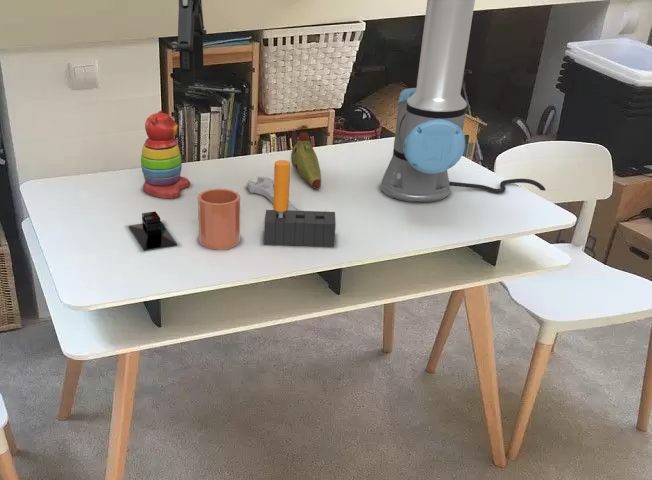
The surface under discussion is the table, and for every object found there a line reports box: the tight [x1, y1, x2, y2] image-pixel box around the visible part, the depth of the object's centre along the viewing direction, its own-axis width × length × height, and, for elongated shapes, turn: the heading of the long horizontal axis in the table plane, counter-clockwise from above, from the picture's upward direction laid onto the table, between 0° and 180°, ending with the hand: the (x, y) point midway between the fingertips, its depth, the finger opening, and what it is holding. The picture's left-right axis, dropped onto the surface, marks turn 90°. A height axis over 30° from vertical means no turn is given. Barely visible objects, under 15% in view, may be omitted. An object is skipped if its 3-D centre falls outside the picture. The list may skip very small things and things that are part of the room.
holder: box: [263, 209, 337, 248], centre depth 153 cm, size 14×6×5 cm, turn 84°
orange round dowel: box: [272, 159, 291, 218], centre depth 151 cm, size 3×3×16 cm
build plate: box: [128, 211, 178, 252], centre depth 156 cm, size 12×7×5 cm, turn 19°
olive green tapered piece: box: [290, 131, 322, 190], centre depth 181 cm, size 20×5×10 cm, turn 11°
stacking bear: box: [140, 109, 191, 200], centre depth 174 cm, size 11×10×18 cm
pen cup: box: [197, 188, 241, 250], centre depth 152 cm, size 8×8×10 cm
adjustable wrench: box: [247, 176, 301, 211], centre depth 171 cm, size 25×6×2 cm, turn 17°
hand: (192, 77), depth 155 cm, fingers open, 13 cm apart
